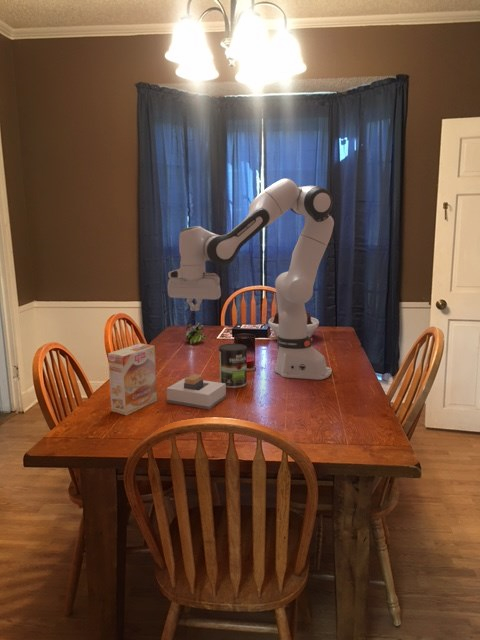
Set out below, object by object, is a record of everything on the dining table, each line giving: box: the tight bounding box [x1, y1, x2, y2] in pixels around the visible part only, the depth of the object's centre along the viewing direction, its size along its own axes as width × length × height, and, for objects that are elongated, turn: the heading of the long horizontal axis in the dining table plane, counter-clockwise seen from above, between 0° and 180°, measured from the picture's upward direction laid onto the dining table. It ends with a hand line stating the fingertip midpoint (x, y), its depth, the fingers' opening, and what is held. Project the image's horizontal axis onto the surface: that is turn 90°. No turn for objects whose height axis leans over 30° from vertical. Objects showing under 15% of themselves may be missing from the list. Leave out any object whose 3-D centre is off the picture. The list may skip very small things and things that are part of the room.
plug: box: [184, 373, 204, 391], centre depth 171 cm, size 4×6×7 cm, turn 155°
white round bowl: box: [267, 312, 320, 339], centre depth 251 cm, size 25×25×15 cm
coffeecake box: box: [107, 342, 158, 416], centre depth 165 cm, size 15×7×20 cm, turn 148°
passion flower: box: [184, 322, 208, 346], centre depth 248 cm, size 11×11×12 cm
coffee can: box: [218, 343, 248, 389], centre depth 187 cm, size 10×10×14 cm
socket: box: [166, 377, 227, 410], centre depth 172 cm, size 16×12×5 cm
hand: (195, 310), depth 184 cm, fingers closed
